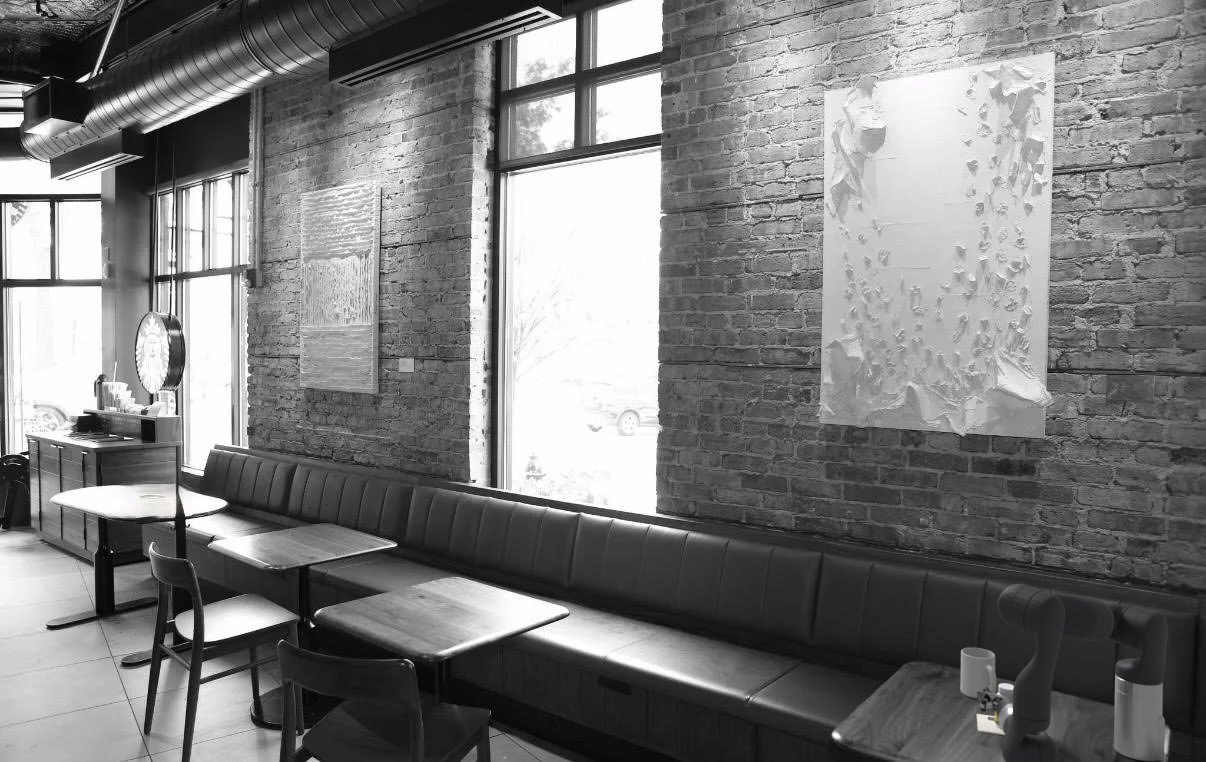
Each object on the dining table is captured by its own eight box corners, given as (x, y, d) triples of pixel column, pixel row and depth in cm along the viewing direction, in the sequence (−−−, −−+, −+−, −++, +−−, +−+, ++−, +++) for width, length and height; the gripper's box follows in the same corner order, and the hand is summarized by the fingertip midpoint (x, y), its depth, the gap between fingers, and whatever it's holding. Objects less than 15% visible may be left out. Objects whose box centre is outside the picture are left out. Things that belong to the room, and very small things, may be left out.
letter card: (1034, 723, 209) (1034, 721, 209) (1038, 740, 199) (1038, 738, 199) (976, 715, 214) (976, 713, 214) (977, 731, 204) (977, 729, 204)
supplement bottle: (994, 728, 205) (994, 688, 205) (995, 719, 210) (995, 680, 210) (1018, 732, 203) (1019, 692, 202) (1019, 723, 208) (1019, 684, 207)
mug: (954, 687, 231) (954, 648, 231) (983, 686, 232) (983, 646, 232) (978, 705, 220) (979, 663, 219) (1009, 703, 221) (1010, 662, 220)
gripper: (1051, 707, 190) (1037, 681, 206) (983, 700, 194) (974, 674, 210) (1051, 740, 190) (1037, 711, 206) (982, 732, 195) (974, 704, 210)
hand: (1005, 692), depth 208 cm, fingers open, 8 cm apart
